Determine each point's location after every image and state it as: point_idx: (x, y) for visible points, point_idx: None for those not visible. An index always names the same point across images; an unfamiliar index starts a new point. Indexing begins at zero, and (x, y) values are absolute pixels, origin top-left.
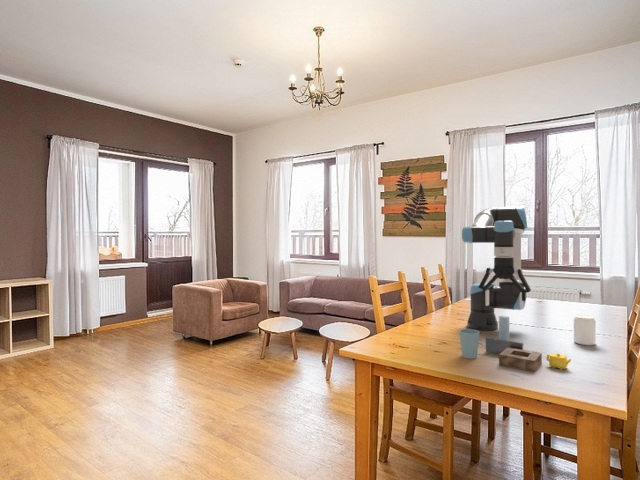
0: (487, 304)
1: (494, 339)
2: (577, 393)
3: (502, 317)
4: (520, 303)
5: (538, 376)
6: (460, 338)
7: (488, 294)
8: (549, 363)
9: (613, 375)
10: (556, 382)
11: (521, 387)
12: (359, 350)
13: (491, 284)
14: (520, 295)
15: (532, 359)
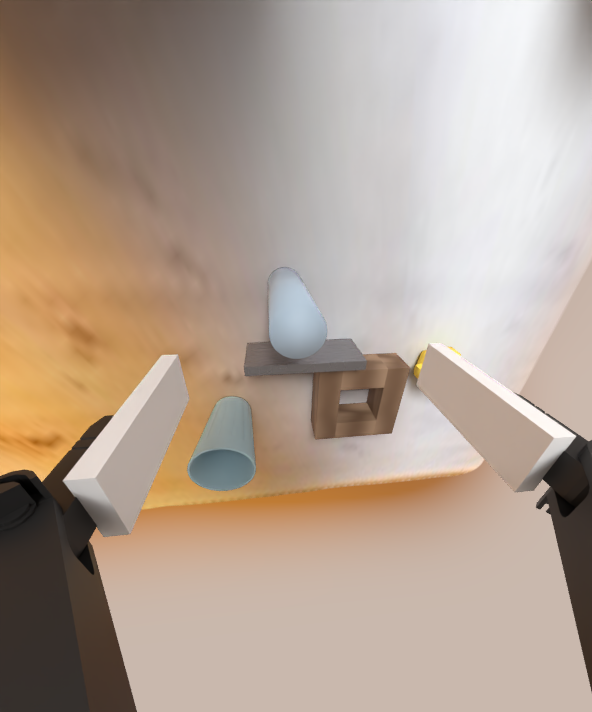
0: (185, 399)
1: (276, 373)
2: (438, 457)
3: (295, 355)
4: (446, 411)
5: None
6: (205, 462)
7: (141, 446)
8: (416, 377)
9: (534, 341)
10: (415, 437)
11: (364, 480)
12: None
13: (75, 619)
14: (502, 468)
15: (387, 428)
